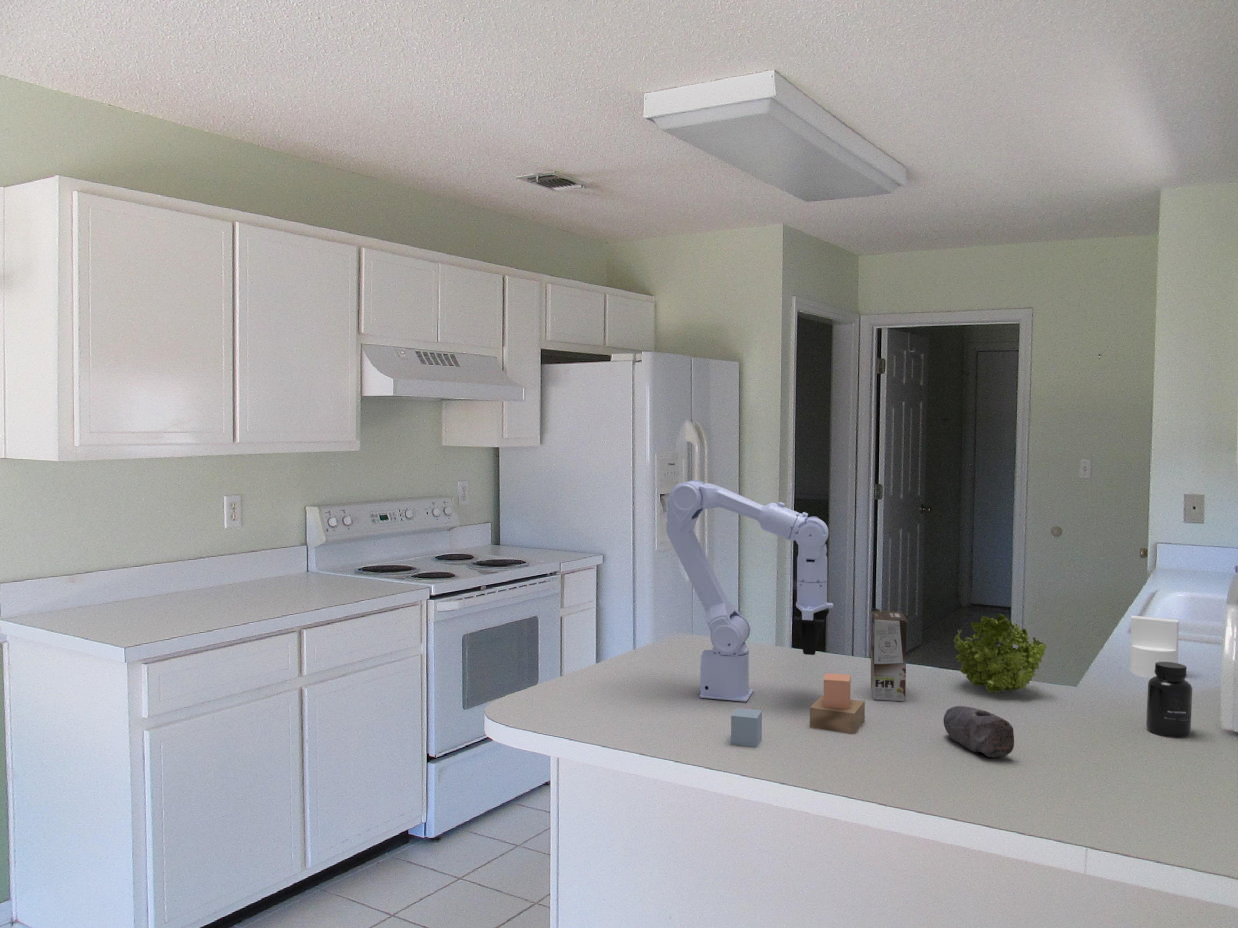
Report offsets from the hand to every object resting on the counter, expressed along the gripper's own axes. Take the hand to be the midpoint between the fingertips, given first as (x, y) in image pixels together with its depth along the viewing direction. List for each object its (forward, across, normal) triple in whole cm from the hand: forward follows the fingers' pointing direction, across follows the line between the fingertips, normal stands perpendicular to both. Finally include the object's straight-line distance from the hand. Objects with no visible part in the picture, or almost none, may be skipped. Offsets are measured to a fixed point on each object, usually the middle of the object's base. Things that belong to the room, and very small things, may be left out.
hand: (811, 649), depth 186 cm
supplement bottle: (+11, +1, -62) cm, 63 cm away
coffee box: (+11, +10, -14) cm, 20 cm away
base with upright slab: (+11, +43, -68) cm, 81 cm away
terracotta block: (+7, -12, -6) cm, 15 cm away
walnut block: (+11, -12, -6) cm, 17 cm away
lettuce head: (+11, +20, -34) cm, 41 cm away
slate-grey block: (+10, -26, +8) cm, 29 cm away
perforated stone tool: (+11, -18, -29) cm, 36 cm away
